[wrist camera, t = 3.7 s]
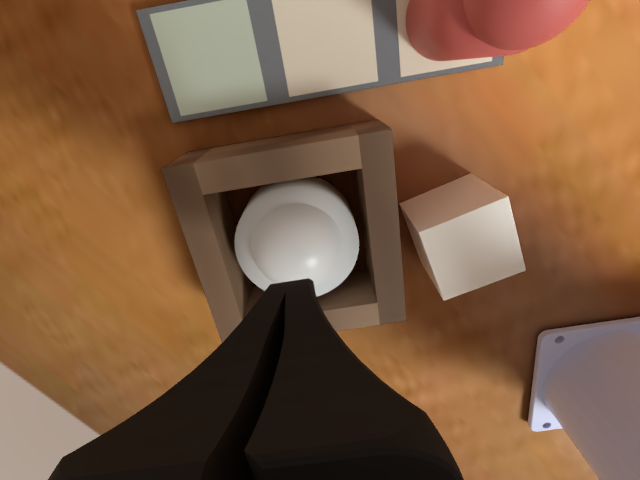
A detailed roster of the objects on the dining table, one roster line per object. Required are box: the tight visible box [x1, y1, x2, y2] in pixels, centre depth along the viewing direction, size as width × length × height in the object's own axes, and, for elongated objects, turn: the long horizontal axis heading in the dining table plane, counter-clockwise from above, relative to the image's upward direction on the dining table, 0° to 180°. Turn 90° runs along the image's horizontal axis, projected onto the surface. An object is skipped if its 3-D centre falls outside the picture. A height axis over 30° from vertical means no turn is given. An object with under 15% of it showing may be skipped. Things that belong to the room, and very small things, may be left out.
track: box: [136, 0, 504, 123], centre depth 14 cm, size 14×4×1 cm, turn 99°
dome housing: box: [161, 119, 407, 343], centre depth 16 cm, size 8×8×3 cm
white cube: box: [399, 173, 526, 301], centre depth 16 cm, size 4×4×4 cm
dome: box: [234, 176, 359, 297], centre depth 16 cm, size 5×5×4 cm
